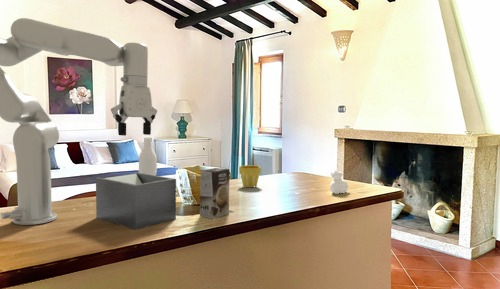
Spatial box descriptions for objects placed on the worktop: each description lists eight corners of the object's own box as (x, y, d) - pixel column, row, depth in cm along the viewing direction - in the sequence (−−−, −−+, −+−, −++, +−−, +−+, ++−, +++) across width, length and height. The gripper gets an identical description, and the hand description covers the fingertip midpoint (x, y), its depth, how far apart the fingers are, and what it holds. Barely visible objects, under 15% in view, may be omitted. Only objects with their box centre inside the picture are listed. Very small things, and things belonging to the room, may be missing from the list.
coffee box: (214, 219, 131) (214, 171, 130) (199, 216, 134) (199, 170, 133) (229, 213, 139) (230, 168, 137) (215, 211, 142) (215, 167, 141)
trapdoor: (120, 214, 125) (122, 212, 124) (102, 180, 130) (103, 178, 129) (153, 206, 135) (154, 204, 135) (134, 175, 140) (136, 173, 140)
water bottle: (160, 198, 160) (160, 137, 158) (150, 202, 153) (150, 138, 151) (145, 197, 162) (145, 137, 160) (135, 200, 156) (134, 138, 154)
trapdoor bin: (135, 229, 118) (135, 185, 117) (96, 217, 130) (95, 177, 129) (175, 218, 131) (175, 178, 130) (136, 208, 143) (136, 172, 142)
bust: (344, 195, 183) (332, 175, 187) (356, 188, 178) (343, 166, 183) (330, 199, 175) (317, 177, 179) (342, 191, 170) (329, 169, 174)
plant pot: (236, 188, 186) (236, 167, 185) (241, 184, 196) (242, 164, 195) (257, 189, 183) (258, 168, 183) (262, 185, 194) (262, 165, 193)
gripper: (119, 79, 118) (119, 136, 119) (163, 84, 132) (163, 135, 133) (104, 80, 122) (104, 134, 123) (149, 84, 136) (148, 133, 137)
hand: (134, 134), depth 128 cm, fingers open, 9 cm apart
